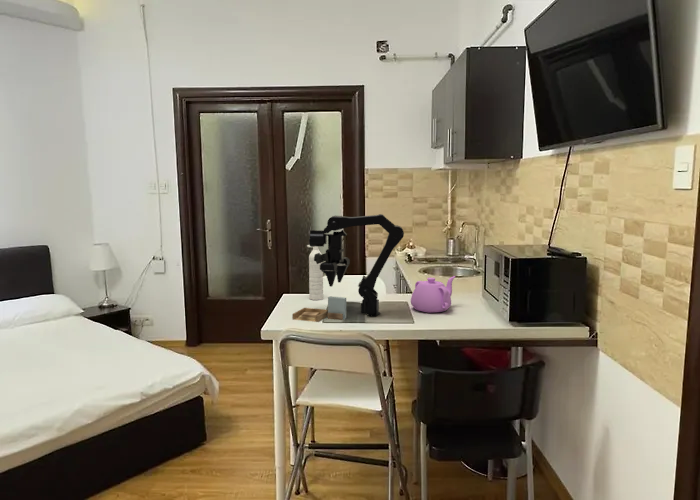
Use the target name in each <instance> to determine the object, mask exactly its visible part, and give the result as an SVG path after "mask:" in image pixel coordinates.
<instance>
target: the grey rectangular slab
mask: <svg viewBox="0 0 700 500" xmlns="http://www.w3.org/2000/svg"><path fill="white" fill-rule="evenodd" d="M327 310H328V313H339V314H343V320H345V319H347V317H346V311H347V297H345V296H344V297H342V296H328V297H327Z"/></svg>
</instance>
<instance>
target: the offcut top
mask: <svg viewBox="0 0 700 500" xmlns="http://www.w3.org/2000/svg"><path fill="white" fill-rule="evenodd" d="M317 315H319V313H318V312H304V313H303V314H301V317H311V318H316V316H317Z"/></svg>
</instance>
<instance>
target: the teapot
mask: <svg viewBox="0 0 700 500" xmlns="http://www.w3.org/2000/svg"><path fill="white" fill-rule="evenodd" d="M455 278H456V276H455V275H453V276H451V277H449V278H448V279H447V282H446V285H445V283H443V282H441V281H437V280H436V277H426V279H427V280H417V281H416V282H415V285H414V290H413V291H412V294H411V296H410V305H411V306H412V307H413V308H414V309H415V310H416V311H420V312H425V313H428V314H432V313H441V312H445V311H447V310H448V309H449V308H450V307H451V306H452V299H451V297H452V294H453V280H454V279H455Z"/></svg>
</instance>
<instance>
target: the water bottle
mask: <svg viewBox="0 0 700 500" xmlns="http://www.w3.org/2000/svg"><path fill="white" fill-rule="evenodd" d="M306 247H307V248H311V247H310V244H306ZM312 248H313V249H312V250H311V251H310V254H309V256H308V264H309V265H308V269H309V270H308V271H309V274H308V276H309V278H308V281H309V282H308V288H309V292H308V293H309V295H308V296H309V297H308V298H309V300H312V301H319V300H320V301H322V300H323V299H324V272H322V271H321V270H320V264H321V263H319V264H317V263H316V261H314V256H315V254H317V253H320V254H321V255H322V252H321V251H320V249H319V247H312ZM322 263H323V262H322Z"/></svg>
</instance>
